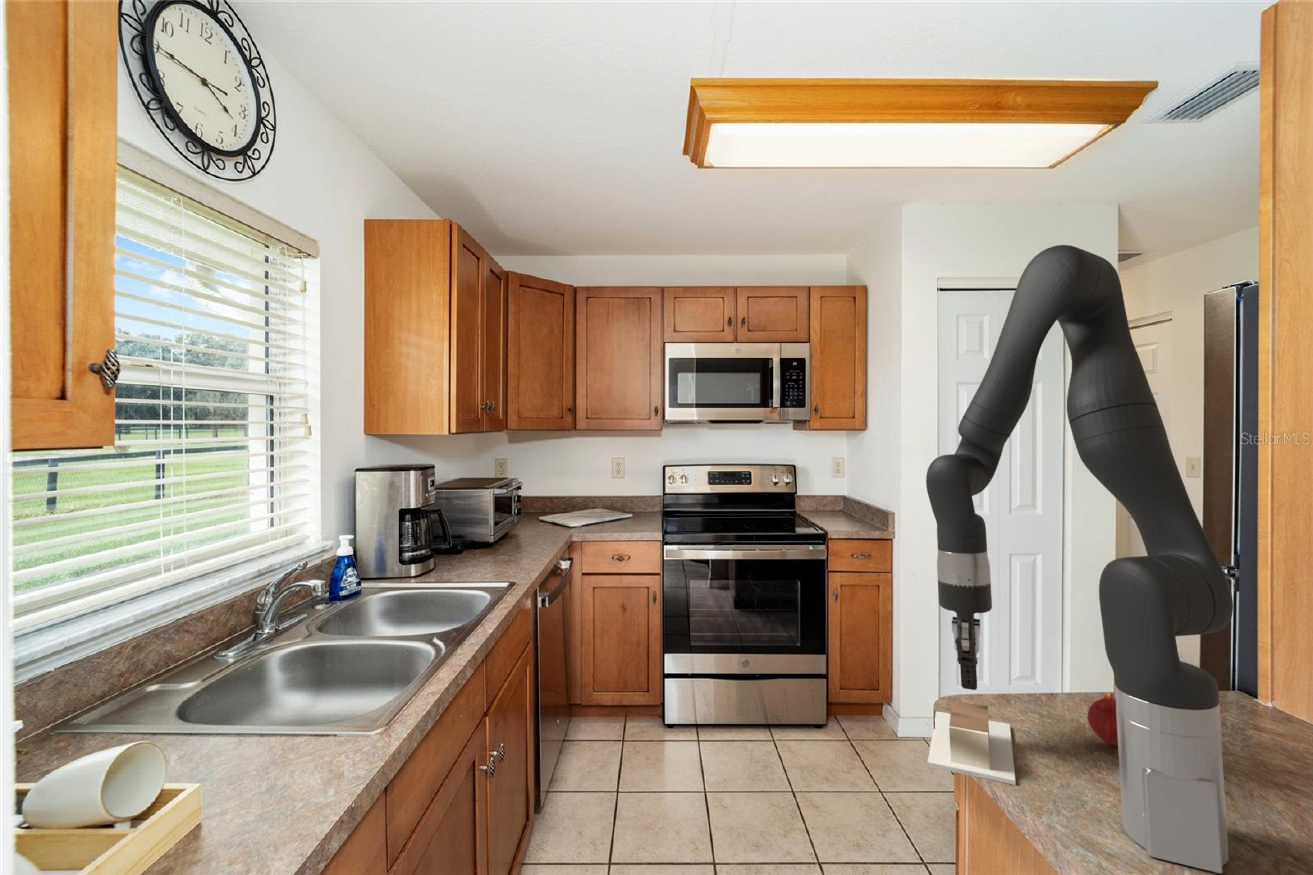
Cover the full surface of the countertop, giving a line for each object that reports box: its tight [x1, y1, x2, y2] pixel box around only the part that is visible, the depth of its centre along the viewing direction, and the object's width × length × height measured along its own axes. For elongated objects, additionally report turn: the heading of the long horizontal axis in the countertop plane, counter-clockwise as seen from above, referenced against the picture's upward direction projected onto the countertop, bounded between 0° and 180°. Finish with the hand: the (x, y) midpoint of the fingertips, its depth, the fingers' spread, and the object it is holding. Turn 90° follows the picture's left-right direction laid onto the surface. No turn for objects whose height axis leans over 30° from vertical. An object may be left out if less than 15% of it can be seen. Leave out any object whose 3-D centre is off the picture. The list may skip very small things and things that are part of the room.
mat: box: [927, 711, 1016, 786], centre depth 90 cm, size 18×11×1 cm, turn 150°
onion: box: [1087, 691, 1118, 747], centre depth 88 cm, size 6×6×8 cm
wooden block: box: [949, 700, 990, 770], centre depth 88 cm, size 5×5×10 cm
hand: (969, 687), depth 91 cm, fingers closed
